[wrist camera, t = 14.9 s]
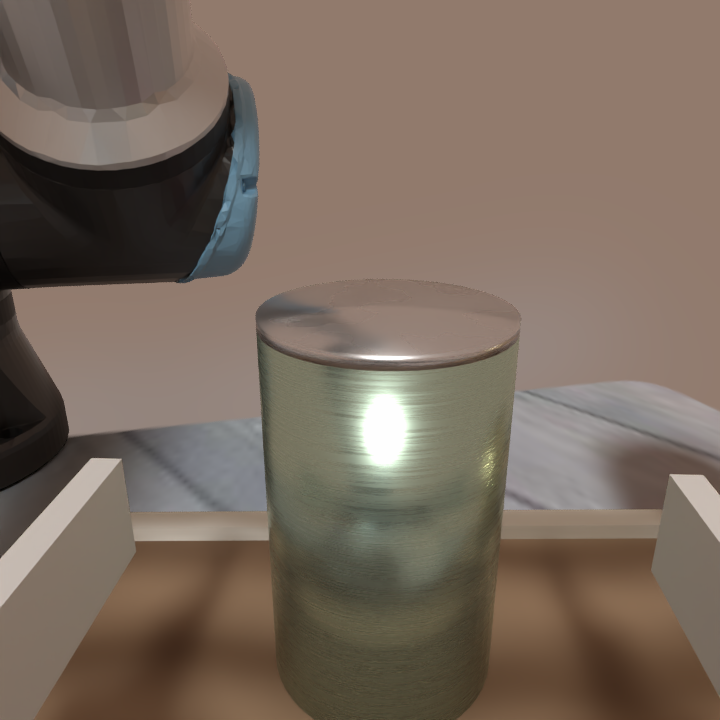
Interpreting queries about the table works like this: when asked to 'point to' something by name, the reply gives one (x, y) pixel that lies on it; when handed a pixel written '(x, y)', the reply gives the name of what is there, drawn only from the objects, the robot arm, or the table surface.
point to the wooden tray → (508, 642)
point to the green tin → (385, 491)
